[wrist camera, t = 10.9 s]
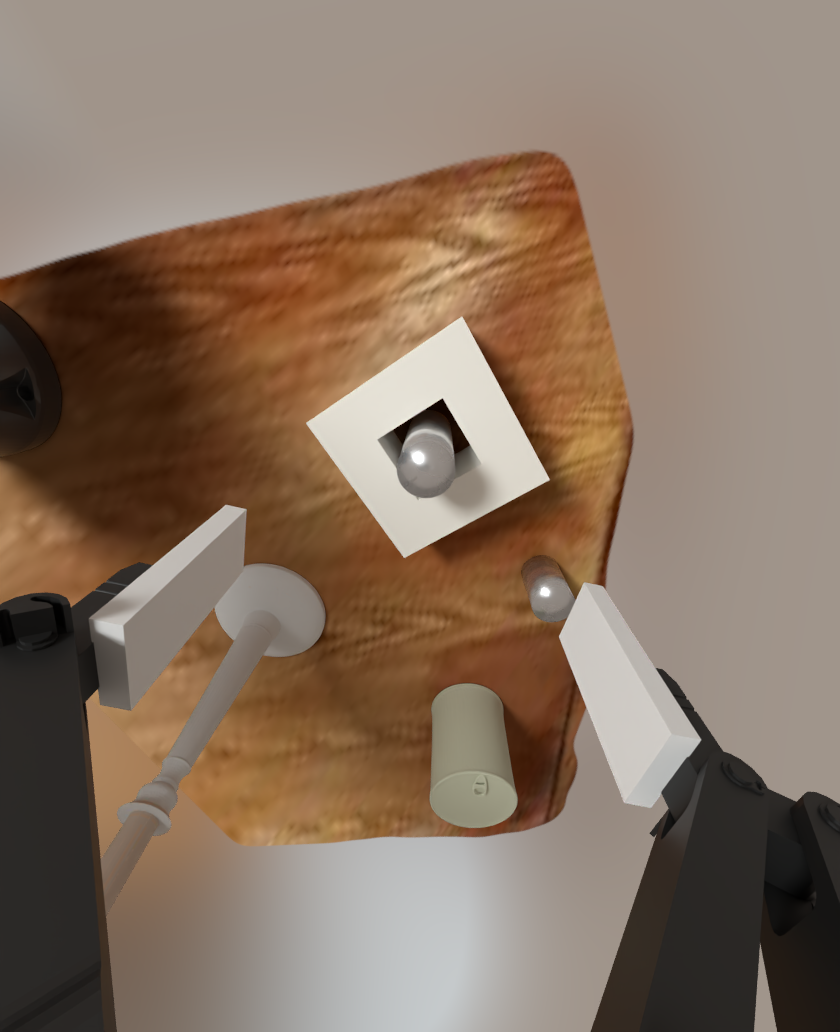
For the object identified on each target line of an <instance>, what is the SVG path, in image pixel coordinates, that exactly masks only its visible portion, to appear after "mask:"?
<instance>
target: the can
mask: <svg viewBox="0 0 840 1032" xmlns="http://www.w3.org/2000/svg"><path fill="white" fill-rule="evenodd" d="M431 712H432V763H431V790H430V804H431V807H432V809H433V811H434V812H435V813H436V814H437V815H438V816H439V817H440V818H442V819H443V820H445V821H447V822H449V823H451V824H453V825H457V826H461V827H467V828H482V827H488V826H493V825H496V824H498V823H500V822H502V821H504V820H506V819H507V818H508V817H510V816H511V815H512V813H513V812H514V811H515V809H516V806H517V800H518V799H517V793H516V790H515V785H514V780H513V774H512V768H511V762H510V756H509V750H508V744H507V737H506V731H505V724H504V716H503V712H504V710H503V704H502V702H501V700H500V698H499V697H498V696H497V694H496V693H494V692H493V691H492V690H490V689H489V688H487V687H484V686H481V685H478V684H471V683H463V684H456V685H453V686H450V687H448V688H446V689H444V690H443V691H441V692H440V693H439V694H438V695H437V696H436V697H435V699H434V701H433V703H432V708H431Z"/></svg>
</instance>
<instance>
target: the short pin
mask: <svg viewBox="0 0 840 1032" xmlns="http://www.w3.org/2000/svg"><path fill="white" fill-rule="evenodd" d="M521 575H522V579H523V582H524V585H525V588H526V591H527V594H528V597H529V600H530V603H531V606H532V609H533V612H534V614H535V615H536V616H537V617H538V618H539V619H541V620H543V621H546V622H557V621H561V620H563V619H565V618H567V617H568V616H569V614H570V612H571V610H572V608H573V605H574V603H575V598H574V596H573V594H572V592H571V590H570V588H569V586H568V584H567V582H566V580H565V578H564V576H563V574H562V572H561V570H560V568H559V566H558V564H557V562H556V561H555V560H554V559H553V558H551V557H549V556H544V555H539V556H535V557H532V558H530V559H529V560H527V561H526V562H525V563H524V565H523V567H522V570H521Z"/></svg>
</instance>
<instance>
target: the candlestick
mask: <svg viewBox="0 0 840 1032" xmlns="http://www.w3.org/2000/svg"><path fill="white" fill-rule="evenodd" d="M215 613H216V616H217V619H218V621H219V623H220V625H221V626H222V628H223V629H224V631H225V632H226V633H227V634H228V635H229V637H230V638H231V639H233V640H234V642H233V644H232V646H231V647H230V649H229V651H228V653H227V654H226V656H225V658H224V659H223V661H222V663H221V665H220V666H219V668H218V670H217V671H216V673H215V675H214V677H213V678H212V680H211V682H210V683H209V685H208V687H207V689H206V690H205V692H204V694H203V696H202V697H201V699H200V701H199V702H198V704H197V706H196V708H195V709H194V711H193V713H192V714H191V716H190V718H189V720H188V721H187V723H186V725H185V727H184V728H183V730H182V732H181V733H180V735H179V737H178V739H177V740H176V742H175V744H174V745H173V747H172V749H171V751H170V752H169V754H168V756H167V757H166V758H165V759H164V760H163V762H162V770H161V772H160V774H159V775H158V776H157V777H156V778H154V780H153V781H152V782H151V783H148V784H146V785H144V786H143V787H142V788H141V789H140V790H139V792H138V795H137V797H136V799H135V800H134V801H133V802H130V803H127V804H124V805H122V806H121V807H120V808H119V809H118V811H117V816H118V819H119V820H120V822H121V823H122V824H123V826H122V827H121V829H120V830H119V832H118V834H117V835H116V837H115V838H114V840H113V841H112V843H111V844H110V846H109V847H108V849H107V851H106V852H105V854H104V855H103V857H102V858H101V869H102V880H103V891H104V901H105V912H106V916H107V914H108V912H109V910H110V909H111V907H112V905H113V904H114V902H115V900H116V898H117V897H118V894H119V893H120V891H121V890H122V888H123V886H124V884H125V883H126V881H127V879H128V877H129V876H130V874H131V872H132V870H133V869H134V867H135V865H136V863H137V861H138V860H139V858H140V856H141V855H142V853H143V851H144V849H145V848H146V846H147V844H148V842H149V841H150V839H151V837H152V836H159V835H162V834H165V833H167V832H168V831H169V830H170V828H171V821H170V818H169V813H170V811H171V810H172V809H173V808H174V807H175V805H176V803H177V799H178V798H177V793H176V792H177V790H178V786H179V783H180V781H181V779H182V778H183V777H184V776H186V775H188V774H189V773H190V771H191V767H192V766H193V764H194V763H195V761H196V760H197V758H198V756H199V755H200V753H201V752H202V750H203V749H204V747H205V745H206V744H207V742H208V741H209V739H210V738H211V736H212V734H213V733H214V731H215V730H216V728H217V727H218V725H219V723H220V722H221V720H222V719H223V717H224V716H225V714H226V712H227V711H228V709H229V708H230V706H231V705H232V703H233V701H234V700H235V698H236V697H237V695H238V694H239V692H240V690H241V689H242V687H243V686H244V684H245V682H246V681H247V679H248V678H249V676H250V675H251V673H252V671H253V670H254V668H255V667H256V665H257V664H258V662H259V660H260V659H261V657H262V656H263V655H265V656H271V657H286V656H292V655H296V654H299V653H301V652H304V651H305V650H307V649H309V648H310V647H311V646H312V645H314V644H315V642H316V641H317V640H318V639H319V637H320V635H321V633H322V631H323V628H324V625H325V619H326V614H325V607H324V604H323V601H322V599H321V597H320V595H319V594H318V592H317V591H316V589H315V588H314V587H313V586H312V585H311V584H310V583H309V582H308V581H307V580H306V579H305V578H303V577H302V576H300V575H299V574H297V573H296V572H294V571H292V570H290V569H287V568H285V567H282V566H278V565H273V564H265V563H259V564H250V565H246V566H244V567H243V572H242V573H241V575H240V576H239V577H238V578H237V580H236V581H235V582H234V583H233V585H232V586H231V587H230V588H229V589H228V591H227V592H226V593H225V594H224V596H223V597H222V598H221V599H220V601H219V602H218V603H217V604H216V606H215Z"/></svg>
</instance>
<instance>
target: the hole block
mask: <svg viewBox="0 0 840 1032" xmlns="http://www.w3.org/2000/svg"><path fill="white" fill-rule="evenodd" d="M442 398H443V400H444V401H445V403H446V405H447V406H448V408H449V410H450V412H451V413H452V415H453V417H454V418H455V420H456V422H457V423H458V425H459V427H460V428H461V430H462V432H463V433H464V435H465V437H466V439H467V440H468V442H469V444H470V446H468V447H467V448H465V449H463V450H461V451H460V452H458V453H456V454H455V455H454V460H455V470H456V471H455V478H454V480H453V483H452V484H451V486H450V487H449V488H448V489H447V490H446V491H445V492H444V493H442V494H441V495H439V496H436V497H432V498H420V497H416V496H414V495H412V494H410V493H409V492H407V491H406V490H405V489H404V488H403V486H402V485H401V483H400V482H399V479H398V476H397V464H398V460H399V457H400V454H401V451H402V448H403V445H402V443H401V442H400V440H399V439H398V437H397V435H396V434H395V432H394V431H393V429H395V428H396V427H398V426H399V425H401V424H403V423H404V422H406V421H407V420H409V419H410V418H412V417H414V416H415V415H417V414H418V413H420V412H421V411H423V410H425V409H426V408H428V407H429V406H431V405H432V404H434V403H436V402H437V401H439V400H440V399H442ZM306 424H307V425H308V427H309V428H310V429H311V431H312V432H313V434H314V435H315V436H316V438H317V439H318V440H319V442H320V443H321V445H322V446H323V447H324V449H325V450H326V451H327V453H328V454H329V456H330V457H331V458H332V460H333V461H334V462H335V464H336V465H337V467H338V468H339V469H340V471H341V472H342V473H343V475H344V476H345V477H346V479H347V480H348V482H349V483H350V484H351V486H352V487H353V488H354V490H355V491H356V493H357V494H358V495H359V497H360V498H361V499H362V501H363V502H364V504H365V505H366V506H367V508H368V509H369V510H370V512H371V513H372V515H373V516H374V517H375V519H376V520H377V521H378V523H379V524H380V525H381V527H382V528H383V530H384V531H385V532H386V534H387V535H388V536H389V538H390V539H391V541H392V542H393V543H394V545H395V546H396V547H397V549H398V550H399V552H400V553H401V554H402V556H403V557H404V558H405V557H407V556H409V555H411V554H412V553H414V552H416V551H418V550H420V549H422V548H424V547H426V546H427V545H429V544H431V543H433V542H435V541H437V540H439V539H440V538H442V537H444V536H446V535H448V534H450V533H452V532H454V531H455V530H457V529H459V528H461V527H463V526H465V525H467V524H468V523H470V522H472V521H474V520H476V519H478V518H480V517H482V516H483V515H485V514H487V513H489V512H491V511H493V510H495V509H496V508H498V507H500V506H502V505H504V504H506V503H508V502H509V501H511V500H513V499H515V498H517V497H519V496H521V495H523V494H524V493H526V492H528V491H530V490H532V489H534V488H536V487H537V486H539V485H541V484H543V483H545V482H547V481H549V480H550V479H549V477H548V475H547V473H546V472H545V470H544V468H543V466H542V464H541V462H540V460H539V459H538V457H537V455H536V453H535V451H534V449H533V447H532V446H531V444H530V442H529V440H528V438H527V436H526V434H525V432H524V431H523V429H522V427H521V425H520V423H519V421H518V419H517V418H516V416H515V414H514V412H513V410H512V408H511V406H510V405H509V403H508V401H507V399H506V397H505V395H504V393H503V391H502V390H501V388H500V386H499V384H498V382H497V380H496V378H495V377H494V375H493V373H492V371H491V369H490V367H489V365H488V364H487V362H486V360H485V358H484V356H483V354H482V352H481V350H480V349H479V347H478V345H477V343H476V341H475V339H474V337H473V336H472V334H471V332H470V330H469V328H468V326H467V324H466V323H465V321H464V319H463V317H460V318H459V319H457V320H456V321H455V322H453V323H452V324H450V325H449V326H447V327H446V328H444V329H443V330H441V331H440V332H438V333H437V334H436V335H434V336H433V337H431V338H430V339H428V340H427V341H425V342H424V343H422V344H421V345H419V346H418V347H417V348H415V349H414V350H412V351H411V352H409V353H408V354H406V355H405V356H403V357H402V358H400V359H399V360H398V361H396V362H395V363H393V364H392V365H390V366H389V367H387V368H386V369H384V370H383V371H381V372H380V373H379V374H377V375H376V376H374V377H373V378H371V379H370V380H368V381H367V382H365V383H364V384H362V385H361V386H360V387H358V388H357V389H355V390H354V391H352V392H351V393H349V394H348V395H346V396H345V397H343V398H342V399H341V400H339V401H338V402H336V403H335V404H333V405H332V406H330V407H329V408H327V409H326V410H324V411H323V412H322V413H320V414H319V415H317V416H316V417H314V418H313V419H311V420H310V421H308V422H307V423H306Z"/></svg>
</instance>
